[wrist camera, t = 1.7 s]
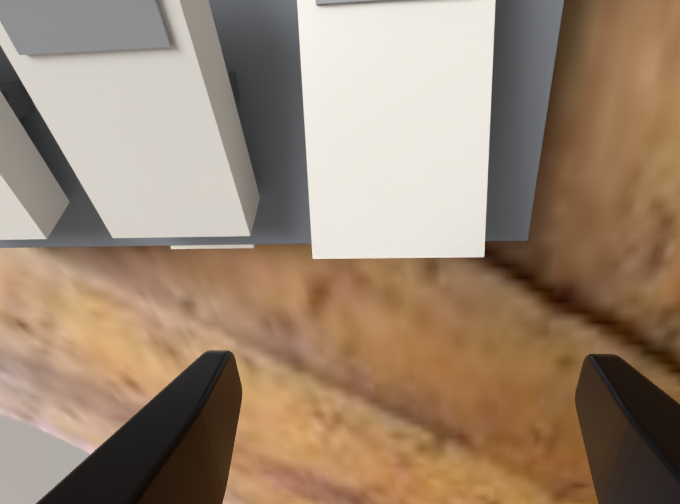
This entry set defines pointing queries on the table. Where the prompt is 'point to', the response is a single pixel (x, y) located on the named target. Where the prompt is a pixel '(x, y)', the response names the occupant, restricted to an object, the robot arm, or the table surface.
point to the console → (289, 130)
